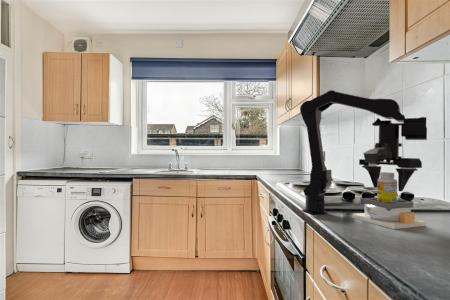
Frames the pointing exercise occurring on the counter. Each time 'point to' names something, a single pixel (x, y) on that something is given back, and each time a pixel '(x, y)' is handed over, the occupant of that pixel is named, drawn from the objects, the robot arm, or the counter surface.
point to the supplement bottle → (387, 188)
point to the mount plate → (389, 224)
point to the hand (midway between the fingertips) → (387, 189)
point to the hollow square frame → (388, 210)
